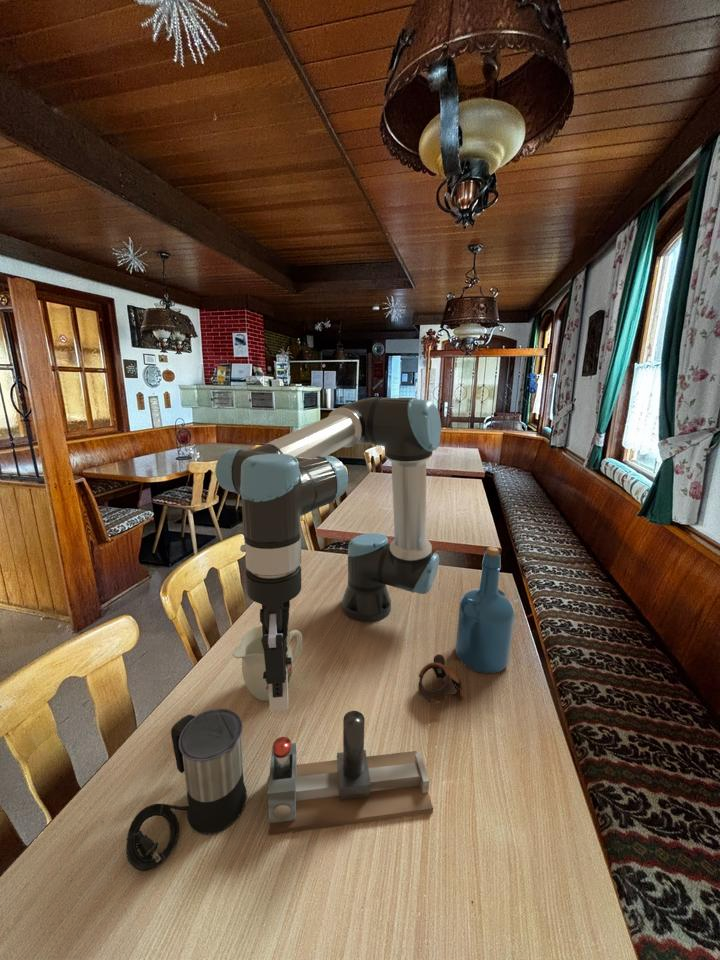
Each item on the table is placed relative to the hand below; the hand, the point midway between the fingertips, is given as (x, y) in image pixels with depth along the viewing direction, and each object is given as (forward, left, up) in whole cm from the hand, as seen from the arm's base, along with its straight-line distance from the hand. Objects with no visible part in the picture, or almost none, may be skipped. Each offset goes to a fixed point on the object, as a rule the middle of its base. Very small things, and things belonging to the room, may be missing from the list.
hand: (279, 706), depth 59 cm
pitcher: (-25, -4, -19) cm, 32 cm away
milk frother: (+1, -14, -19) cm, 24 cm away
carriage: (0, +12, -18) cm, 21 cm away
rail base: (0, +11, -19) cm, 22 cm away
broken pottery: (-20, +34, -19) cm, 44 cm away
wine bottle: (-29, +48, -19) cm, 59 cm away
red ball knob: (0, 0, -13) cm, 13 cm away
